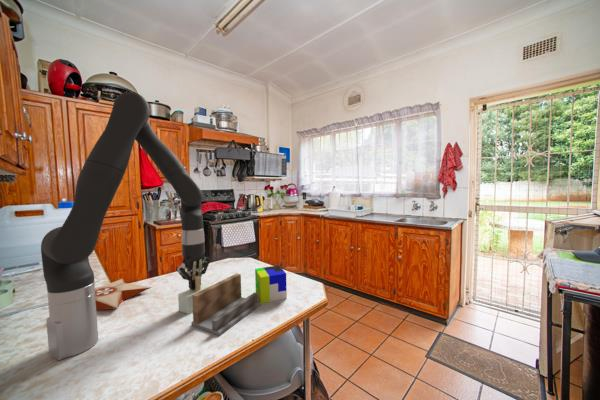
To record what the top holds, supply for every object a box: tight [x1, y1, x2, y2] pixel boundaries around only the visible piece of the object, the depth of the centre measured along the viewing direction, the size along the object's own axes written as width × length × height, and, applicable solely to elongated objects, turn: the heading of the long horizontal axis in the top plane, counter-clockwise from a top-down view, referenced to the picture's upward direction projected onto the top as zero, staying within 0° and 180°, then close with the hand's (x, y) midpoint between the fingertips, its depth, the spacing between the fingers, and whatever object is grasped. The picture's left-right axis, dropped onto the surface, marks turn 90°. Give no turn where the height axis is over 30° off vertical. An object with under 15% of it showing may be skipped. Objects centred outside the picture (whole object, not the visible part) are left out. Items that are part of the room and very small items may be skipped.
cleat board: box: [191, 273, 262, 337], centre depth 81 cm, size 20×12×10 cm, turn 153°
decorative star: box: [95, 278, 152, 311], centre depth 92 cm, size 29×4×30 cm
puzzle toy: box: [254, 264, 288, 304], centre depth 95 cm, size 10×10×10 cm
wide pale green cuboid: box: [177, 276, 211, 315], centre depth 87 cm, size 10×5×11 cm, turn 153°
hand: (195, 288), depth 87 cm, fingers closed on wide pale green cuboid, 1 cm apart
